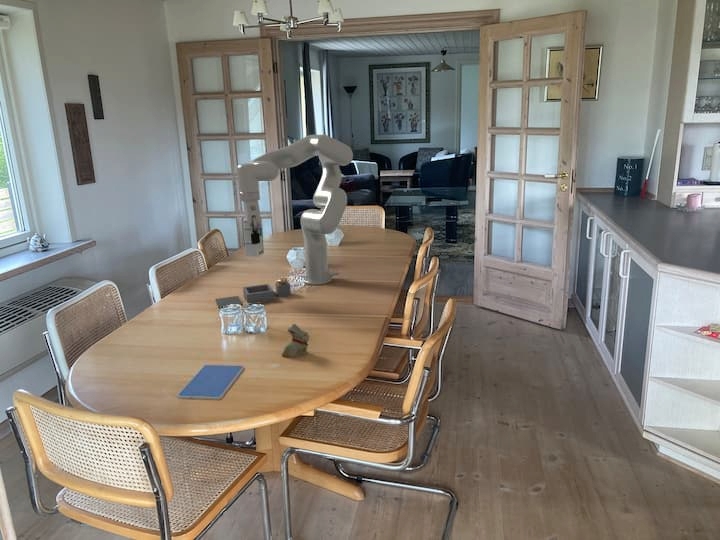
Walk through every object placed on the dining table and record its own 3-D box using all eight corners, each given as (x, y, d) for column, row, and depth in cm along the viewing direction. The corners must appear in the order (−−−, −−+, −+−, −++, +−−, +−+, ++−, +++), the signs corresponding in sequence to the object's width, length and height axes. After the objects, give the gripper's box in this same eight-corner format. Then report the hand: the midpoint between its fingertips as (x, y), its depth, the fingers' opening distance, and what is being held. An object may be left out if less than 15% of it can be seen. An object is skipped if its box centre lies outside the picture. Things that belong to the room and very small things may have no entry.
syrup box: (259, 256, 221) (257, 219, 217) (244, 256, 222) (242, 219, 218) (264, 253, 227) (262, 217, 223) (249, 253, 228) (248, 216, 224)
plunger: (287, 291, 235) (286, 277, 233) (289, 294, 231) (288, 280, 229) (277, 292, 233) (276, 278, 232) (279, 295, 230) (278, 281, 228)
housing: (286, 290, 238) (285, 279, 237) (292, 297, 228) (291, 286, 227) (243, 296, 232) (242, 284, 231) (247, 304, 223) (246, 292, 221)
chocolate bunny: (306, 358, 172) (303, 327, 169) (280, 357, 173) (278, 326, 170) (310, 350, 177) (308, 320, 174) (286, 350, 178) (283, 320, 176)
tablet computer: (220, 401, 149) (220, 397, 148) (175, 400, 150) (174, 395, 150) (245, 369, 167) (245, 365, 167) (204, 368, 169) (204, 364, 168)
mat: (238, 297, 232) (238, 295, 232) (242, 305, 222) (242, 303, 222) (215, 300, 229) (215, 298, 229) (218, 308, 219) (218, 307, 219)
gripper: (263, 198, 211) (267, 244, 216) (255, 192, 227) (259, 236, 232) (243, 200, 209) (247, 247, 214) (236, 194, 225) (241, 238, 230)
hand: (254, 241), depth 223 cm, fingers closed on syrup box, 7 cm apart
